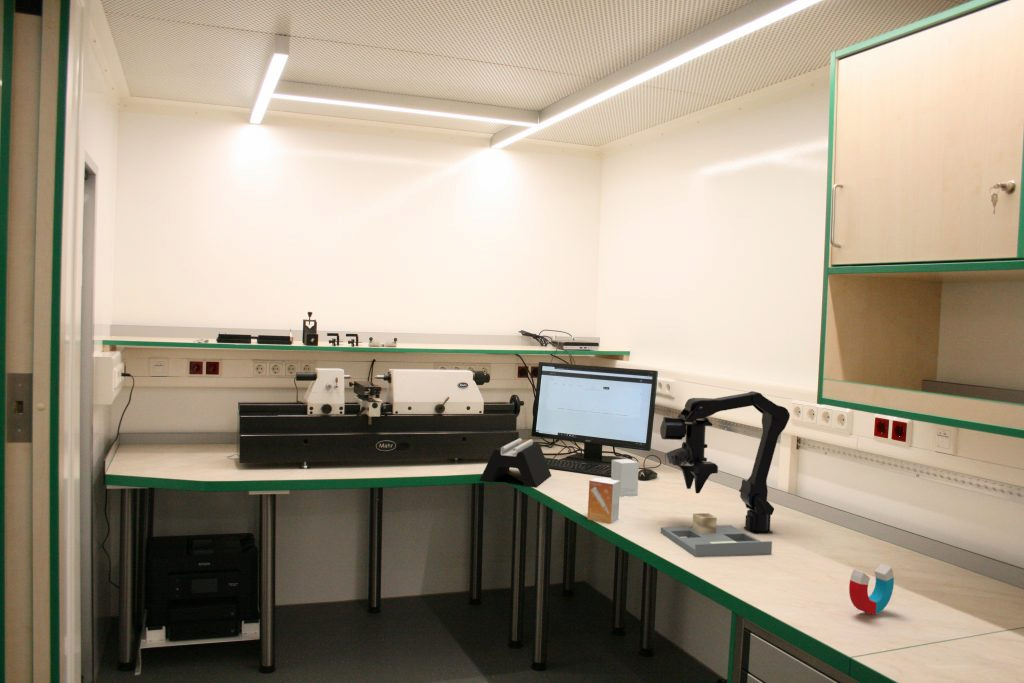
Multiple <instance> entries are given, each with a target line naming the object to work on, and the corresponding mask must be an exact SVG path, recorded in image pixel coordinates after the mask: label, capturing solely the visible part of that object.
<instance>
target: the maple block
mask: <svg viewBox="0 0 1024 683" xmlns="http://www.w3.org/2000/svg"><path fill="white" fill-rule="evenodd" d="M717 521H718V518H717V516H715V515H712V514H710V513H709V512H708V513H704V512H703V513H702V512H700V513H693V514H692V526H693V527H692V529H694V530H695V531H697V532H699V533H700V534H703V533H716V525H717Z"/></svg>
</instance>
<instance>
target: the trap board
mask: <svg viewBox="0 0 1024 683" xmlns="http://www.w3.org/2000/svg"><path fill="white" fill-rule="evenodd" d="M692 527H693V525H691V526H689V525H688V526H687V525H686V526H664V527H663V526H661V527H660V534H662V535H663V536H665V537H666V538H667V539H668V540H670V541H671V542H673V543H675V544H676V545H678V546H679V547H681V548H682V549H684V550H685V551H686V552H688V553H689V554H690V555H692V556H694V558H695V557H696V558H702V557H703V558H704V557H705V558H708V557H709V558H711V557H712V558H713V557H737V556H738V557H739V556H740V557H741V556H762V555H772V551H773V550H772V549H773V548H772V547H773V541H771V540H767V541H765V540H764V541H763V540H759V538H758V539H757V538H756V537H754V536H752V535H750V534H748V533H747V532H745V531H743V530H741V529H739V528H737V527H735V526H733V525H731V524H719V525H716V533H703V534H700V533H699V532H697V531H695V530H694V529H692Z"/></svg>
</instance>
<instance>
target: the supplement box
mask: <svg viewBox="0 0 1024 683" xmlns="http://www.w3.org/2000/svg"><path fill="white" fill-rule="evenodd" d="M639 463H640V462H639V461H636V460H632V459H630V458H623V459H622V458H621V459H620V458H619V459H618V458H617V459H611V472H610V479H612V480H619V481H620V496H619V498H620V497H621V498H622V497H623V498H624V496H628V497H638V494H639V493H638V492H639V465H640V464H639Z"/></svg>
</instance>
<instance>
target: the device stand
mask: <svg viewBox="0 0 1024 683" xmlns="http://www.w3.org/2000/svg"><path fill="white" fill-rule="evenodd" d="M522 442H523V439H522V438H520V437H519V438H517V439H516V440H512V441H510V442H508V443H506V444H504V445H502V446H500V447H499V448H496V449H494V450H493V451H492V453H491V455H490V458H489V460H488V462H487V464H486V466H485V468H484V470H483V472H482V474H481V476H480V478H479V480H478V481H479V482H486V483H493V482H496V481H498V479H500V478H501V477H503V476H504V475H506V474H508V473H509V472H511V470H510V469H511V468H512V469H518V471H519V475H520V477H521V479H522V482H523V485H522V487H526V488H527V487H528V488H539V487H540V486H541V485H543V483H545V482H546V481H547V480H548V479H549V478H551V477H552V473H551V471H550V467H549V465H548V463H547V460H546V458H545V454H544V453H543V452H544V451H543V450H542V446H541V445H540V443H538V442H534V440H533V439H532V438H531V439H528V440H526V441H525V442H523V443H522ZM520 443H521V444H520Z"/></svg>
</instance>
